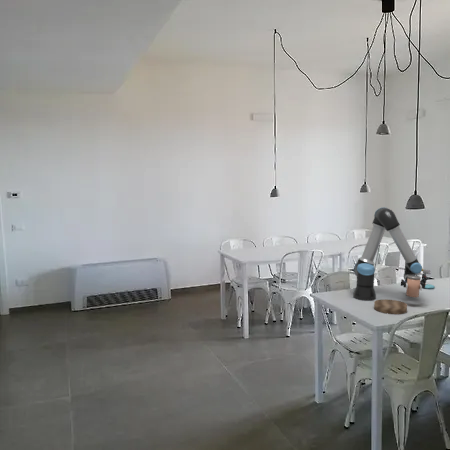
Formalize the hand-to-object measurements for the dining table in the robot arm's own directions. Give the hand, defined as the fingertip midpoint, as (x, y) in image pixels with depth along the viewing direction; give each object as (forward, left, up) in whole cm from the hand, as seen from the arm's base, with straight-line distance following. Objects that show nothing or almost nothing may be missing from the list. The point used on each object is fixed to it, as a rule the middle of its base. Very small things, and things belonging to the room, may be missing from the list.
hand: (414, 287), depth 315 cm
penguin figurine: (+11, +63, -14) cm, 65 cm away
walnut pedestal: (-15, -10, -13) cm, 22 cm away
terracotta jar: (0, +5, -7) cm, 8 cm away
